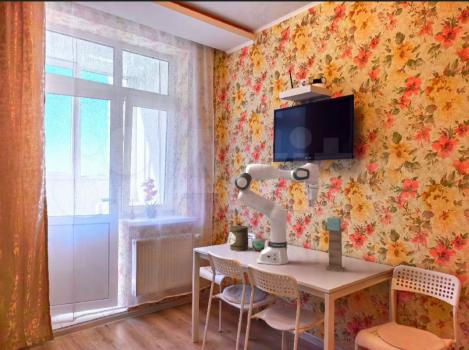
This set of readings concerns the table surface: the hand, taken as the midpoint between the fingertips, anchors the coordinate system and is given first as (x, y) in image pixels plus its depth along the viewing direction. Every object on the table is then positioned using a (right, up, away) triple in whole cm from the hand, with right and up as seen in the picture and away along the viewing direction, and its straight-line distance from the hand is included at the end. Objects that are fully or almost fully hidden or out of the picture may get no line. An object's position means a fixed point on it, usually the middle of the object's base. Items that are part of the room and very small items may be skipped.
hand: (311, 206), depth 225 cm
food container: (-33, -39, +36) cm, 62 cm away
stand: (+12, -38, -16) cm, 43 cm away
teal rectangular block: (+13, -12, -14) cm, 22 cm away
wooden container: (-49, -39, +44) cm, 76 cm away
